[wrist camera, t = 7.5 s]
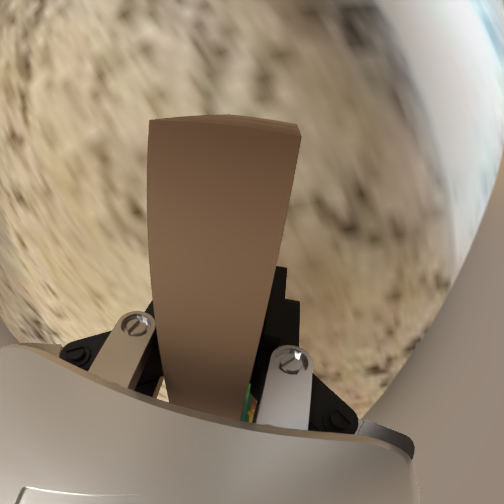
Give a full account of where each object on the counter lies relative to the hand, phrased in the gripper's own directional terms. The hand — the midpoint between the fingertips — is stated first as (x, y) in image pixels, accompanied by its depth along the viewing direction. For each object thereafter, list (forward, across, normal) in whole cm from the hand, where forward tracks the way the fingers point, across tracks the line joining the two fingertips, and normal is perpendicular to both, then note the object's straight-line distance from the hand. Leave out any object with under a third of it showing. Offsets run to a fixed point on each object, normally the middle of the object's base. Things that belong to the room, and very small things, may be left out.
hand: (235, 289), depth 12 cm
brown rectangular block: (+1, 0, 0) cm, 1 cm away
